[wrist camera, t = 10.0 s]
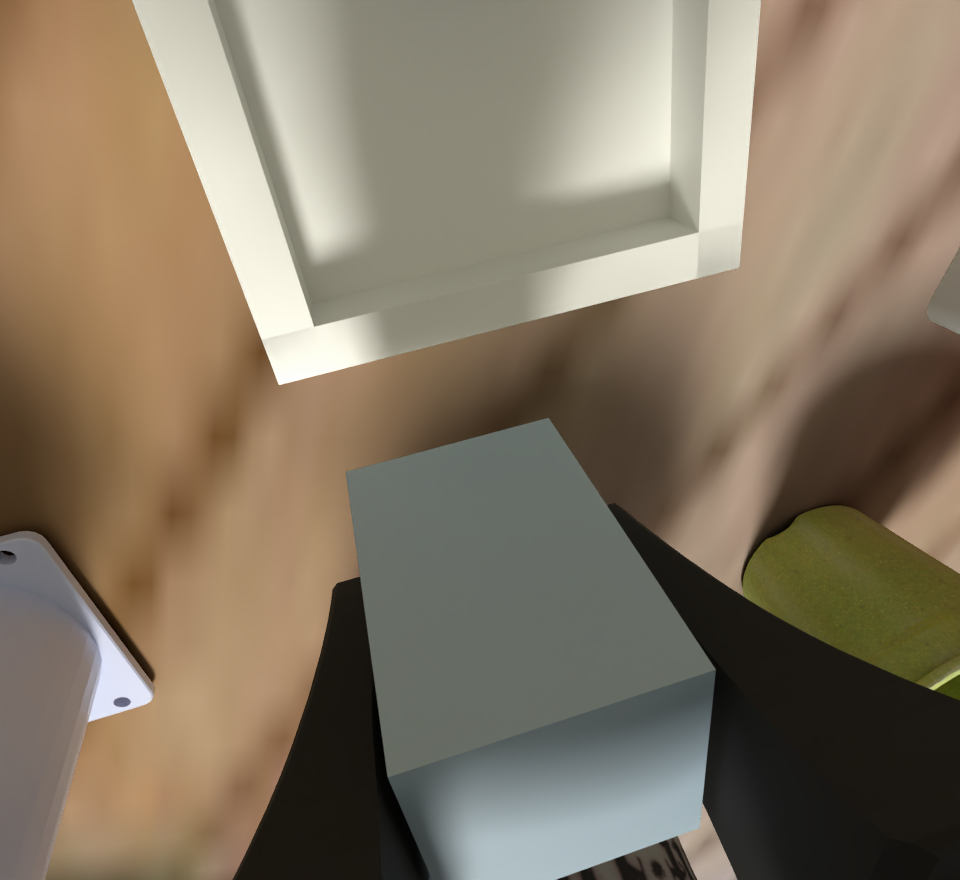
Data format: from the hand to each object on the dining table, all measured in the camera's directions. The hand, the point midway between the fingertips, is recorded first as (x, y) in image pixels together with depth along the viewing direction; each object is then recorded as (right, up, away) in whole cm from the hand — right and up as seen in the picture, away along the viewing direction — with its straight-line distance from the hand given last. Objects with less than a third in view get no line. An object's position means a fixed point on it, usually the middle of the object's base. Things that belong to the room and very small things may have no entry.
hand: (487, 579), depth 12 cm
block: (0, +1, +1) cm, 2 cm away
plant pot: (+14, -2, +17) cm, 22 cm away
